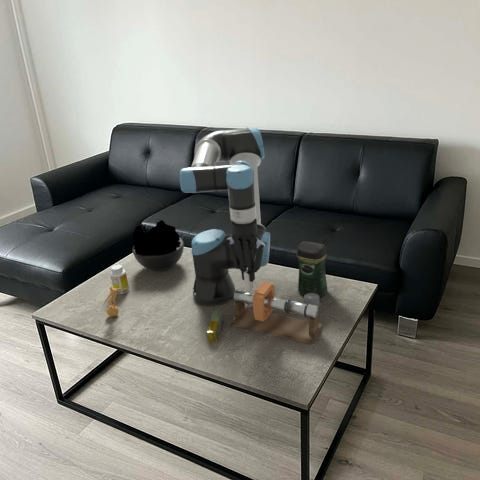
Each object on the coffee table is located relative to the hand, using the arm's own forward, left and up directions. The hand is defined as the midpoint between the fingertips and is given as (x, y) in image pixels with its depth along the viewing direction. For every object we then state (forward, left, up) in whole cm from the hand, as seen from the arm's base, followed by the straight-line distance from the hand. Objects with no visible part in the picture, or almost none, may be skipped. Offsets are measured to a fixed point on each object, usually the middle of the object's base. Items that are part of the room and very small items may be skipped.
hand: (249, 289), depth 148 cm
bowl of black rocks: (-50, +20, -12) cm, 55 cm away
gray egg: (+16, +11, -12) cm, 23 cm away
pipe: (+8, 0, -6) cm, 10 cm away
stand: (+8, 0, -12) cm, 15 cm away
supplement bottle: (-54, 0, -12) cm, 55 cm away
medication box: (-9, -8, -13) cm, 17 cm away
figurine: (-45, -14, -12) cm, 48 cm away
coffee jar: (+12, +23, -12) cm, 29 cm away
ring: (+5, 0, -8) cm, 10 cm away
